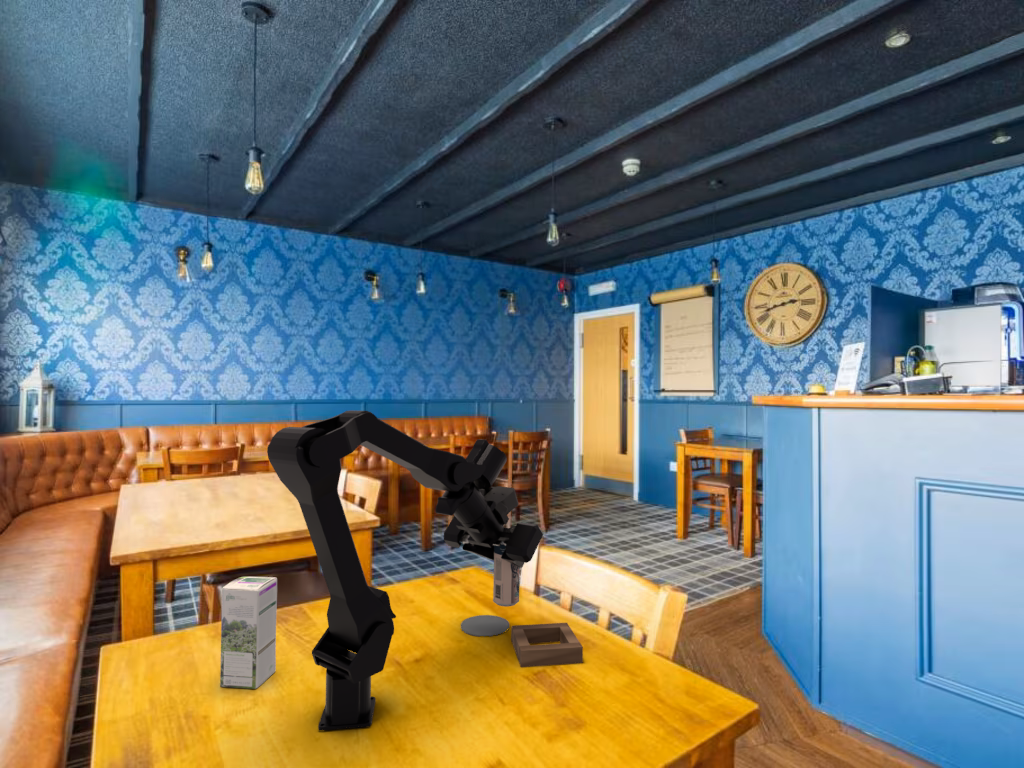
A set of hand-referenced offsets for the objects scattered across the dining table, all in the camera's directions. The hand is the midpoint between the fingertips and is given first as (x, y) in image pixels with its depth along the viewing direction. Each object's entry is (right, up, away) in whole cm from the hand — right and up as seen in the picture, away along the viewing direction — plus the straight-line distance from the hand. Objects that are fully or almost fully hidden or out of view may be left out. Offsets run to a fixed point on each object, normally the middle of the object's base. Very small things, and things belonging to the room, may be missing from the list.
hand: (511, 562), depth 101 cm
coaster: (-5, -12, +1) cm, 13 cm away
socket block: (+6, -12, -9) cm, 16 cm away
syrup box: (-39, -12, -19) cm, 45 cm away
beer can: (-1, -7, -2) cm, 7 cm away
